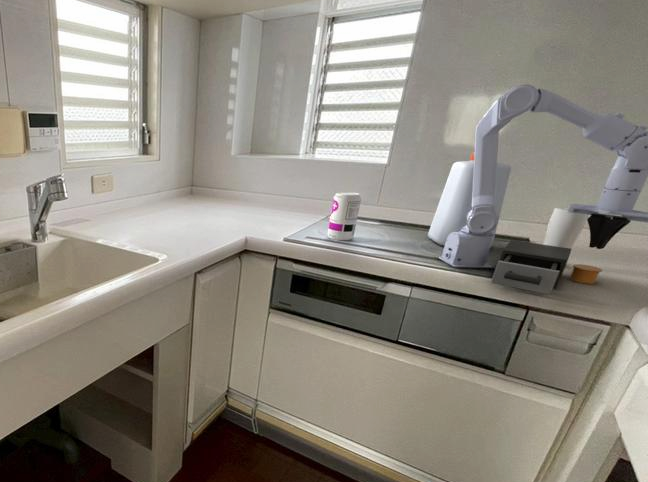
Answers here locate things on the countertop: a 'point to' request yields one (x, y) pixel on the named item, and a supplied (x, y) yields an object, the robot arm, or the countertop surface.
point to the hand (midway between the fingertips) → (596, 247)
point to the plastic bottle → (463, 199)
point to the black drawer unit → (538, 254)
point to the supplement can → (344, 215)
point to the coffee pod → (585, 273)
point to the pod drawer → (526, 273)
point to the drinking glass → (564, 228)
